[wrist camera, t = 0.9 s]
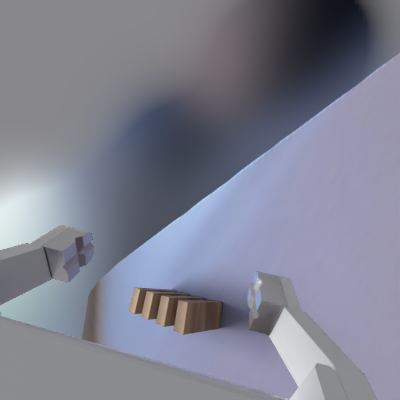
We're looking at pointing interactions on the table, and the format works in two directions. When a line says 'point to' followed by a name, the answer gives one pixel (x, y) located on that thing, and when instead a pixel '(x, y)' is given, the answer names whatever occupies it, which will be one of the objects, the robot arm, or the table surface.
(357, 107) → the table surface
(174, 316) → the domino
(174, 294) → the domino
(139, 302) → the domino
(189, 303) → the domino
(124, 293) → the table surface
